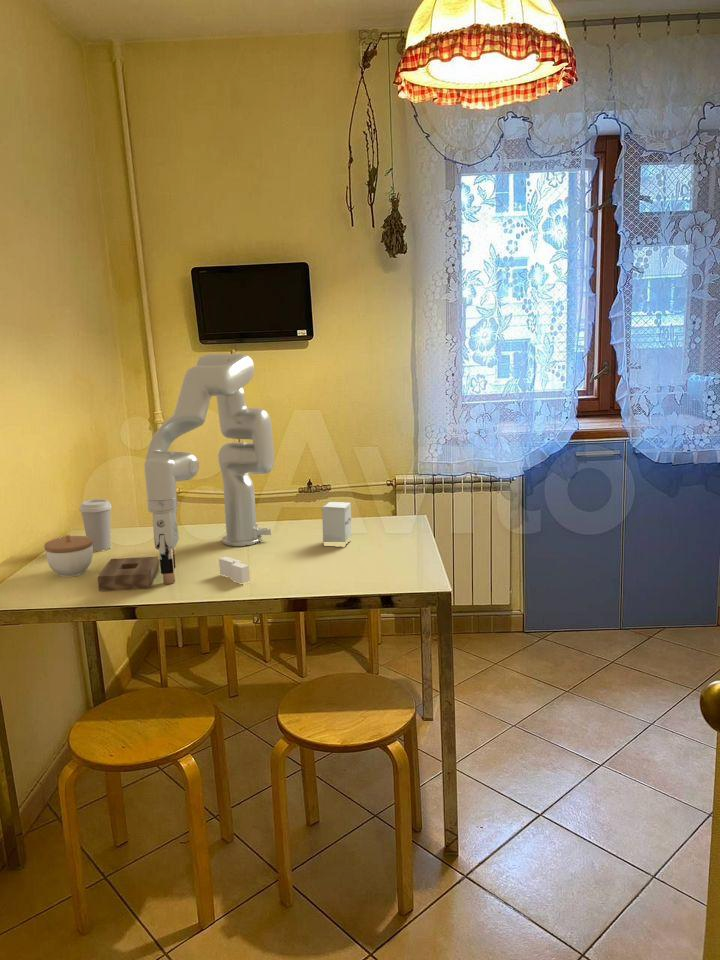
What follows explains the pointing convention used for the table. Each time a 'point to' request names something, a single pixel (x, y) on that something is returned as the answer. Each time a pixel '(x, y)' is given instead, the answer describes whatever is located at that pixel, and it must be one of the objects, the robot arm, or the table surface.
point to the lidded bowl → (69, 555)
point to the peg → (170, 577)
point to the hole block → (128, 573)
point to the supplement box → (336, 521)
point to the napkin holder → (234, 569)
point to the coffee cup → (97, 522)
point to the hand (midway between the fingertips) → (168, 570)
